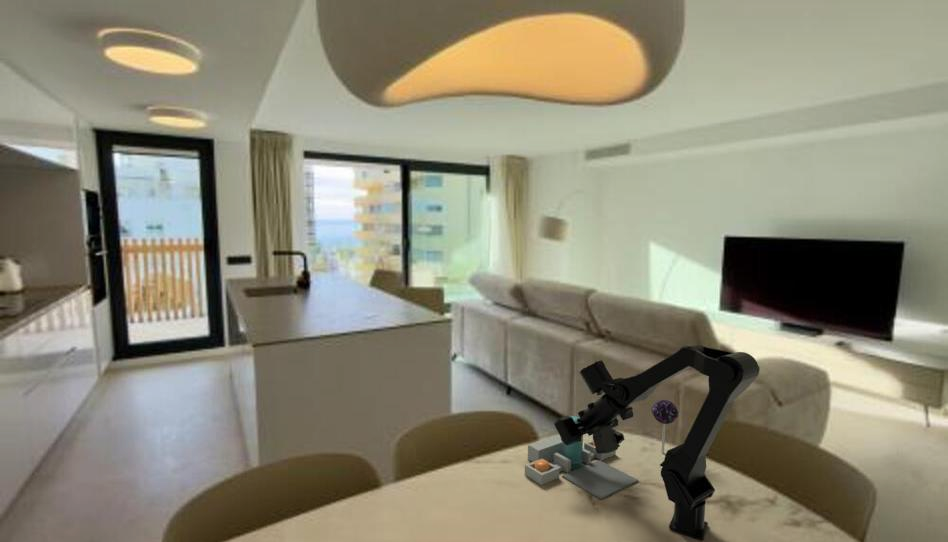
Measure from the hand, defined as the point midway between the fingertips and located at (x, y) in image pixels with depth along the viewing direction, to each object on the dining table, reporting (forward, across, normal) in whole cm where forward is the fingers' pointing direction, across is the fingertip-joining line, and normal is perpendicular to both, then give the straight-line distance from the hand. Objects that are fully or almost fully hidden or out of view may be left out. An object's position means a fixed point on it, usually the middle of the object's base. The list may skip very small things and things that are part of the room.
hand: (569, 437), depth 123 cm
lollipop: (-3, +26, -13) cm, 29 cm away
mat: (-3, 0, -12) cm, 12 cm away
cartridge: (+4, 0, -6) cm, 7 cm away
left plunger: (+3, -11, -5) cm, 13 cm away
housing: (+6, 0, -4) cm, 7 cm away
